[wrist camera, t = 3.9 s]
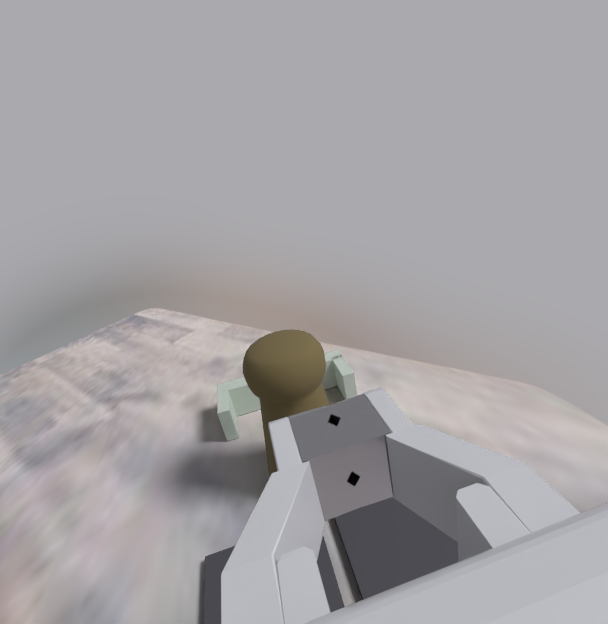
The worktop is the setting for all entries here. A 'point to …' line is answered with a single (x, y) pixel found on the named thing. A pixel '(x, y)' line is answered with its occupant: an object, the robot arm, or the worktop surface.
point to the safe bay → (241, 400)
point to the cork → (285, 378)
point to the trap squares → (362, 554)
